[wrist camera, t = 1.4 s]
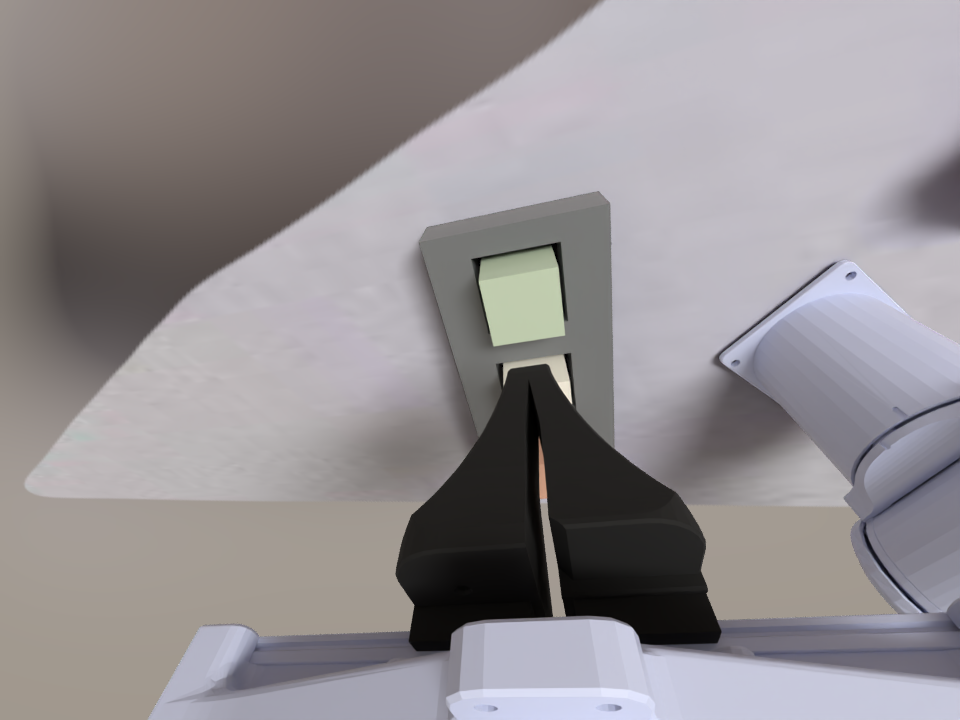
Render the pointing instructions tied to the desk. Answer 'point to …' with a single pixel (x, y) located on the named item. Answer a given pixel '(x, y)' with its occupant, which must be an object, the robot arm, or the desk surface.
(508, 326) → the sage button
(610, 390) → the button panel
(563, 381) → the cream button
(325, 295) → the desk surface
